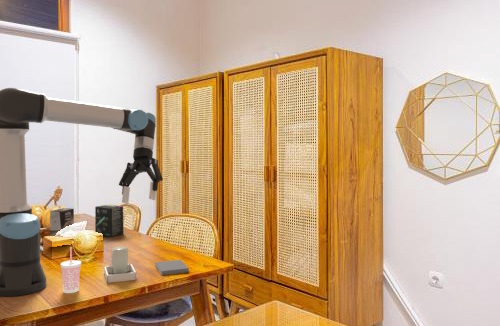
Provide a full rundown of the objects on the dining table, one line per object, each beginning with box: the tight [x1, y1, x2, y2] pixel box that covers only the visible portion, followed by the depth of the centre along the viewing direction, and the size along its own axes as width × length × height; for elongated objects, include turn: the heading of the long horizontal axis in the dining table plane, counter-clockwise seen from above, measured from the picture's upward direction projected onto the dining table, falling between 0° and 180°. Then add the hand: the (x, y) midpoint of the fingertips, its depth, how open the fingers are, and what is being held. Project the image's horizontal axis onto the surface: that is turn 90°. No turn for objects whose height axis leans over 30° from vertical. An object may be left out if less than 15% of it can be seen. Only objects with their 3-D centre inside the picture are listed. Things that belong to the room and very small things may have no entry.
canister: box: [111, 246, 129, 275], centre depth 149 cm, size 6×6×10 cm
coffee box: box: [49, 207, 75, 237], centre depth 193 cm, size 9×6×16 cm
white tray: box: [103, 263, 137, 284], centre depth 149 cm, size 10×11×2 cm
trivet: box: [154, 259, 190, 276], centre depth 159 cm, size 10×12×2 cm
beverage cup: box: [60, 246, 82, 294], centre depth 134 cm, size 6×6×14 cm
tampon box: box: [94, 204, 125, 238], centre depth 215 cm, size 11×9×15 cm
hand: (138, 201), depth 162 cm, fingers open, 13 cm apart
